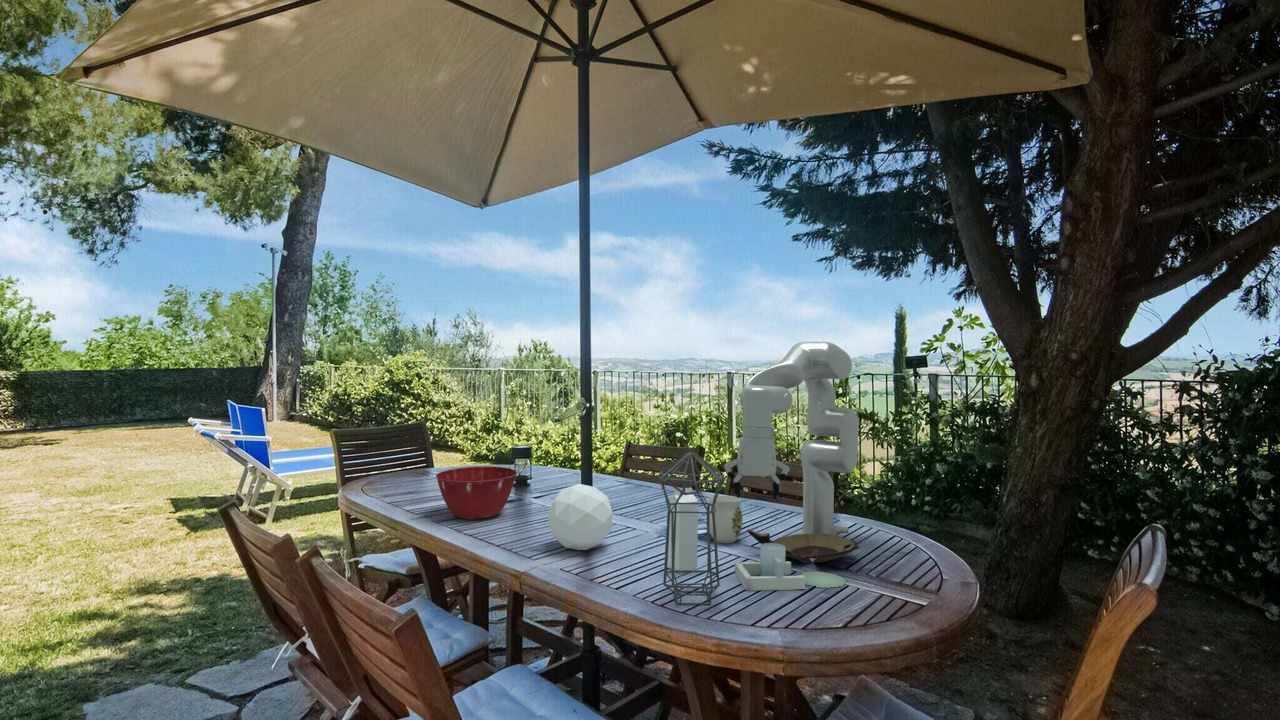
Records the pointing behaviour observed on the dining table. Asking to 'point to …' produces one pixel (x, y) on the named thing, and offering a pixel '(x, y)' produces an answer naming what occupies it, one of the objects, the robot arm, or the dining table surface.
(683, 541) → the milk
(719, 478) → the geometric lantern
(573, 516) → the ball
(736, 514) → the pitcher
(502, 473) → the mixing bowl
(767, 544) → the jug
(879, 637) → the dining table surface
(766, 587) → the holder
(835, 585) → the mat
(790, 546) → the oil lamp
